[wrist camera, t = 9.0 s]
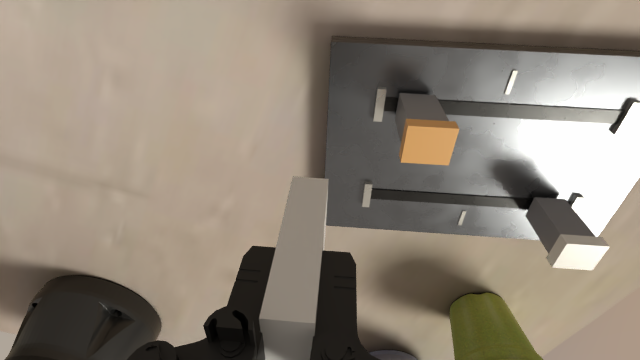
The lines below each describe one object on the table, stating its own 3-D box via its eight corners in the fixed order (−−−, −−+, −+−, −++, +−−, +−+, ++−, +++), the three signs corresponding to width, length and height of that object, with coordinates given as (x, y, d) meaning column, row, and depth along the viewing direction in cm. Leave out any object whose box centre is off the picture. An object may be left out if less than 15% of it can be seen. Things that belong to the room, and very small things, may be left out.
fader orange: (391, 122, 25) (400, 162, 20) (397, 90, 23) (408, 125, 19) (431, 124, 25) (448, 165, 20) (439, 92, 23) (459, 128, 19)
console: (323, 214, 33) (322, 228, 31) (331, 36, 23) (330, 43, 22) (583, 231, 32) (595, 247, 30) (700, 54, 23) (726, 63, 21)
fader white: (521, 217, 29) (551, 267, 25) (532, 194, 28) (567, 243, 23) (556, 219, 29) (592, 270, 25) (569, 197, 27) (610, 246, 23)
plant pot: (477, 269, 36) (508, 351, 29) (540, 302, 38) (584, 386, 31) (417, 312, 41) (431, 391, 34) (476, 339, 43) (501, 418, 36)
